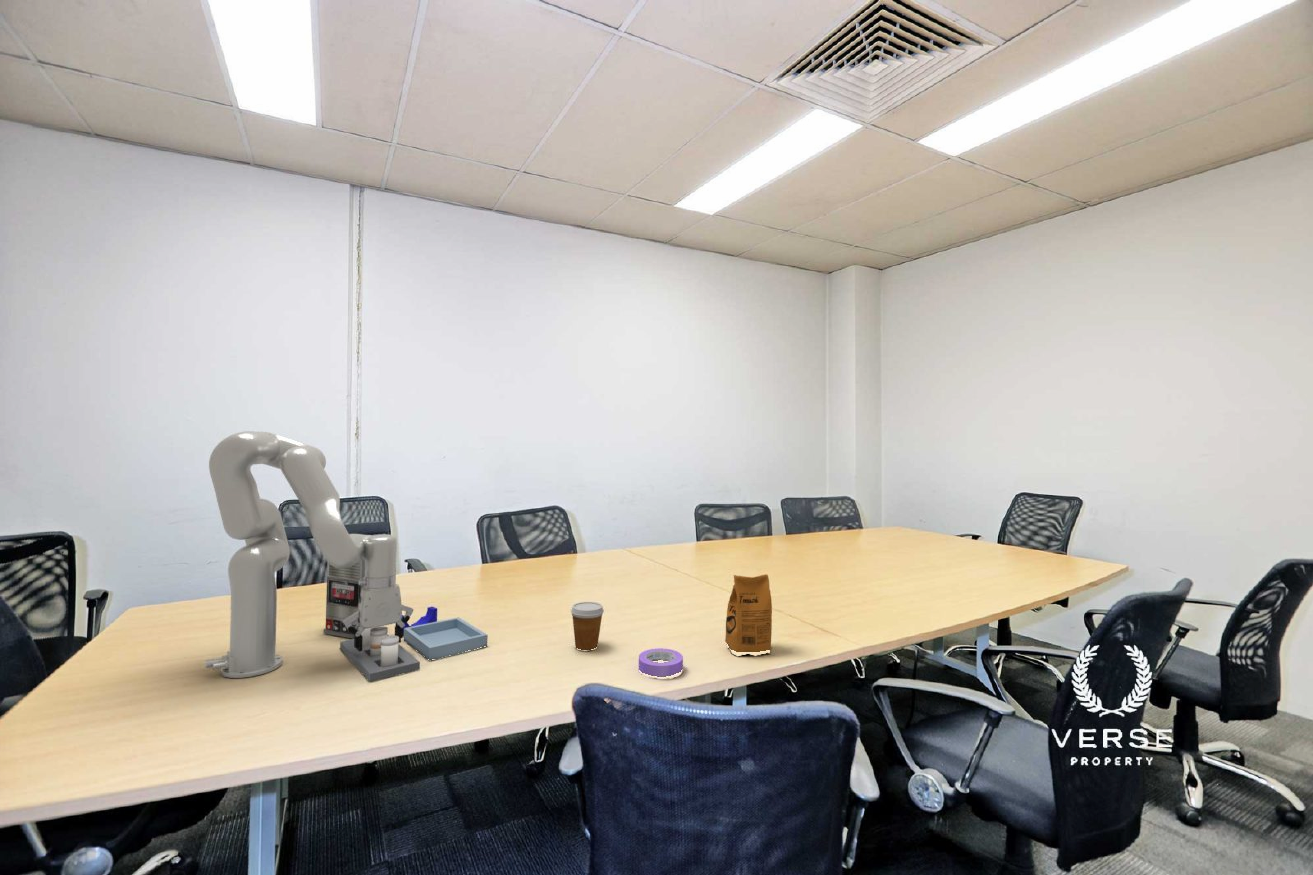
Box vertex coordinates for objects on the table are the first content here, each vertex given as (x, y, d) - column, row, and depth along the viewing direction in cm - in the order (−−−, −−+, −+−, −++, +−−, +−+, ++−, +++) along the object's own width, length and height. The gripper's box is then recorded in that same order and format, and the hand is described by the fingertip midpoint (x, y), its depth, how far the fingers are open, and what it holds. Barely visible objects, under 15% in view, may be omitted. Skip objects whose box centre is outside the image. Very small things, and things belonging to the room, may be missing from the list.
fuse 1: (362, 653, 154) (363, 623, 154) (357, 648, 157) (358, 620, 157) (378, 649, 156) (379, 620, 156) (374, 645, 160) (374, 617, 160)
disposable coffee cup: (563, 649, 160) (564, 607, 160) (582, 639, 168) (583, 599, 168) (590, 656, 155) (591, 613, 155) (609, 645, 164) (610, 604, 164)
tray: (429, 661, 149) (429, 648, 149) (403, 640, 164) (403, 628, 164) (487, 647, 160) (487, 634, 160) (458, 628, 175) (458, 617, 175)
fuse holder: (369, 682, 136) (370, 674, 136) (340, 648, 156) (340, 641, 156) (419, 669, 144) (419, 661, 144) (385, 639, 164) (385, 632, 164)
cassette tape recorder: (322, 634, 167) (324, 550, 167) (340, 628, 173) (342, 547, 173) (358, 640, 163) (360, 554, 163) (375, 634, 168) (377, 551, 168)
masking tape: (644, 682, 140) (644, 667, 140) (633, 664, 151) (634, 649, 151) (688, 678, 143) (689, 663, 143) (675, 660, 155) (675, 646, 155)
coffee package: (722, 645, 166) (723, 571, 166) (761, 643, 169) (763, 570, 169) (732, 658, 157) (734, 579, 157) (774, 656, 159) (776, 578, 159)
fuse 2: (382, 674, 140) (383, 642, 140) (377, 669, 143) (378, 637, 143) (400, 670, 143) (401, 638, 143) (395, 665, 146) (395, 634, 146)
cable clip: (428, 624, 179) (429, 605, 179) (436, 627, 176) (437, 608, 176) (392, 634, 169) (393, 614, 169) (400, 637, 166) (401, 617, 167)
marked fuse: (372, 663, 147) (373, 632, 147) (367, 658, 150) (368, 628, 150) (389, 659, 150) (389, 629, 150) (384, 654, 153) (384, 625, 153)
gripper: (348, 589, 141) (346, 657, 141) (418, 579, 153) (416, 642, 153) (340, 583, 147) (339, 649, 147) (408, 574, 159) (407, 634, 159)
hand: (378, 645), depth 150 cm, fingers open, 9 cm apart
